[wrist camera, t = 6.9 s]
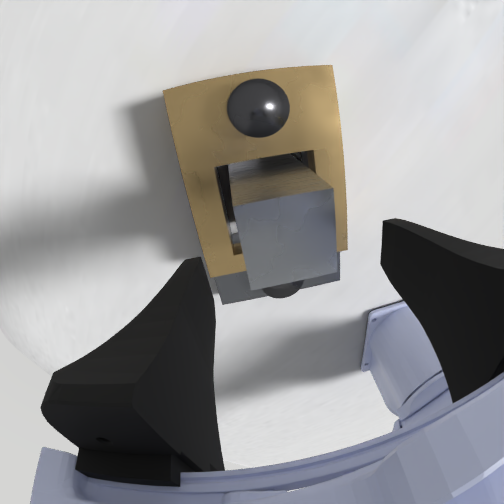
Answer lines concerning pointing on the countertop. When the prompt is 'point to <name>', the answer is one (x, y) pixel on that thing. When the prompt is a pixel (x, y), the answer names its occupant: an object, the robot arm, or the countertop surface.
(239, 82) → the brass plate with knob
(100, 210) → the countertop surface
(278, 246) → the grey metal block
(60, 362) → the countertop surface
